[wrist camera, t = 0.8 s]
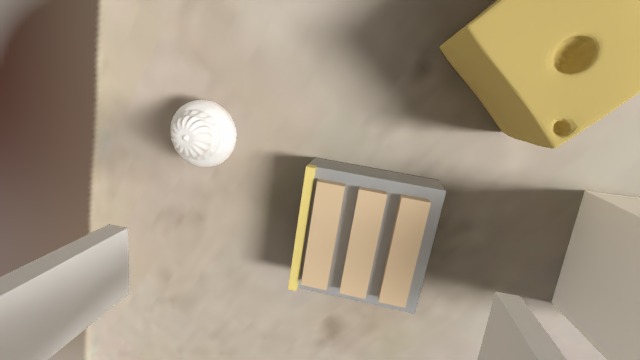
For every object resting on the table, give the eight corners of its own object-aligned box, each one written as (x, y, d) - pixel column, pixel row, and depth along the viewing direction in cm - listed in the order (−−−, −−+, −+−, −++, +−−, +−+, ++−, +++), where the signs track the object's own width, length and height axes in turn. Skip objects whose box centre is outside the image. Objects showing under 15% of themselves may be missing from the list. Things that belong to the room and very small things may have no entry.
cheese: (614, 60, 29) (731, 43, 20) (497, 140, 32) (549, 160, 23) (542, -45, 28) (629, -116, 19) (428, 47, 31) (453, 26, 22)
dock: (314, 157, 35) (305, 167, 30) (438, 179, 34) (448, 194, 29) (298, 266, 38) (287, 291, 33) (410, 290, 37) (416, 320, 32)
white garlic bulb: (202, 88, 35) (161, 86, 28) (257, 115, 35) (229, 119, 28) (182, 144, 37) (139, 155, 30) (235, 170, 36) (204, 187, 30)
